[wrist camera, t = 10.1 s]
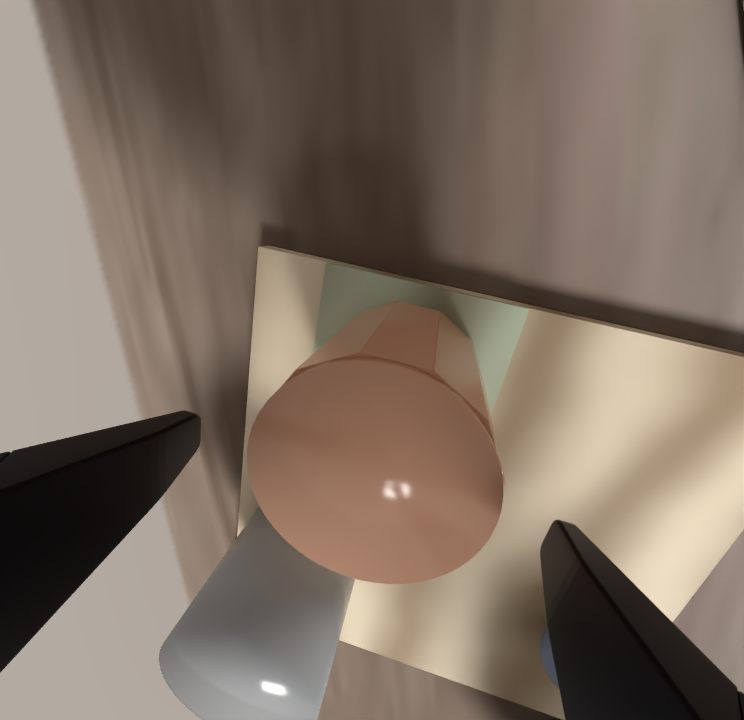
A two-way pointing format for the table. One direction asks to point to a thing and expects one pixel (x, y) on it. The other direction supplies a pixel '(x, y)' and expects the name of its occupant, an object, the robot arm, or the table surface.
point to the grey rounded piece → (258, 632)
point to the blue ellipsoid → (548, 657)
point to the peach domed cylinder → (382, 450)
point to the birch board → (533, 462)
